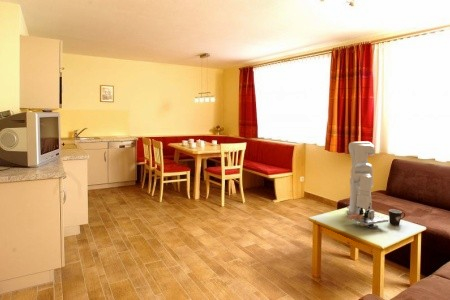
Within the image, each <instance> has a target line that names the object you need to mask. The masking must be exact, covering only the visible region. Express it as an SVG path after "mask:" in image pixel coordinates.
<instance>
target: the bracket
mask: <svg viewBox="0 0 450 300" xmlns="http://www.w3.org/2000/svg"><path fill="white" fill-rule="evenodd" d="M348 215H349V217H348V219H349V220H351V221H352V220H353V219H358V220H361V215H358V214H356V213H354V215H350V214H348Z"/></svg>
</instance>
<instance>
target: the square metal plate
mask: <svg viewBox="0 0 450 300" xmlns="http://www.w3.org/2000/svg"><path fill="white" fill-rule="evenodd" d="M364 213H365V212H363V214H364ZM357 214H358V215H359V213H357ZM349 215H354V214H346V218H349ZM368 215H369V217H368V218H366V219H361V220H358V219H352V220H353V221H356V222H358V223H359V224H360V223H362V224H364V225H366V226H365V227H368V228H370V229H372V228H373V229H374V228H378V227H379V226H378V224H380V223H381V224H382V223H389V219H388V218H386V217H383V216H380V215H378V214H375V210H374V209H372V211H370V212H369V213H368Z"/></svg>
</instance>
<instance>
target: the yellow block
mask: <svg viewBox="0 0 450 300" xmlns="http://www.w3.org/2000/svg"><path fill="white" fill-rule="evenodd" d="M368 217H369V215H368ZM361 219H366V218H364V214H362V215H361ZM359 226H361V227H367V226H366V225H364V224H362V223H360V222H359Z"/></svg>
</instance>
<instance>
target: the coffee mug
mask: <svg viewBox="0 0 450 300" xmlns="http://www.w3.org/2000/svg"><path fill="white" fill-rule="evenodd" d="M402 215H403V216H402ZM405 216H406V213H405V212H402V211H401V210H398V209H394V208H393V209H388V218H389V219H388V220H389V221H388V223H389V224H390V225H392V226H395V227H396V226H397V227H398V226H400V222H401V220H403V219H404V218H405Z"/></svg>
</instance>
